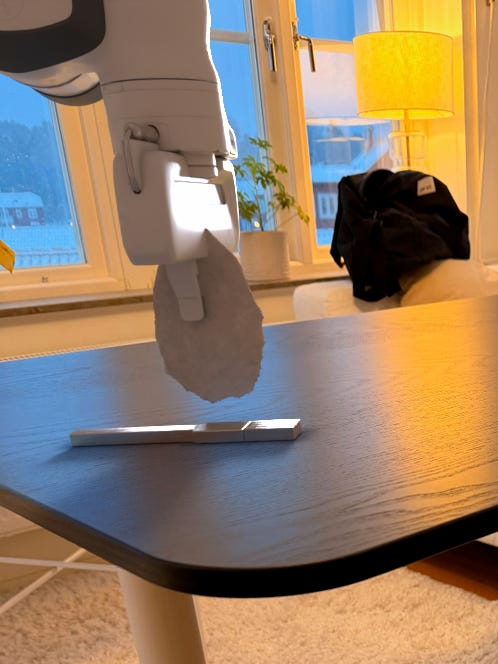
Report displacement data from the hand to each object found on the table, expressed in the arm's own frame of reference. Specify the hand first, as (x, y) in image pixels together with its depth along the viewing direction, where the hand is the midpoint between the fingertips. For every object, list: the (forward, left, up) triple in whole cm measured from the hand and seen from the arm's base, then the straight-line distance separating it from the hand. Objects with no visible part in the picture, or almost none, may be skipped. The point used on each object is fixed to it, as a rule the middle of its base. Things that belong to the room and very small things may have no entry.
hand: (201, 317), depth 75 cm
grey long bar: (0, -9, -8) cm, 12 cm away
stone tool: (+1, 0, -7) cm, 7 cm away
